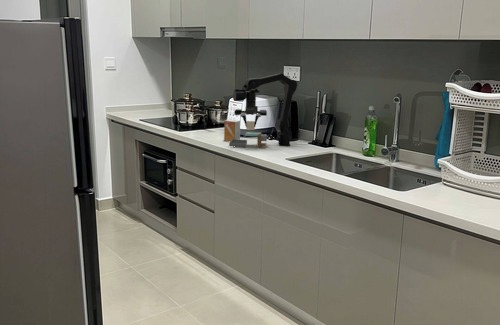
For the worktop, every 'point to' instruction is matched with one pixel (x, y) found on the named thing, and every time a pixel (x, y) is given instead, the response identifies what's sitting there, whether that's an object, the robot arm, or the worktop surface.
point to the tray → (238, 143)
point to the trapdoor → (262, 137)
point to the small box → (231, 130)
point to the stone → (250, 125)
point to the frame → (259, 144)
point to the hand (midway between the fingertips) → (250, 127)
